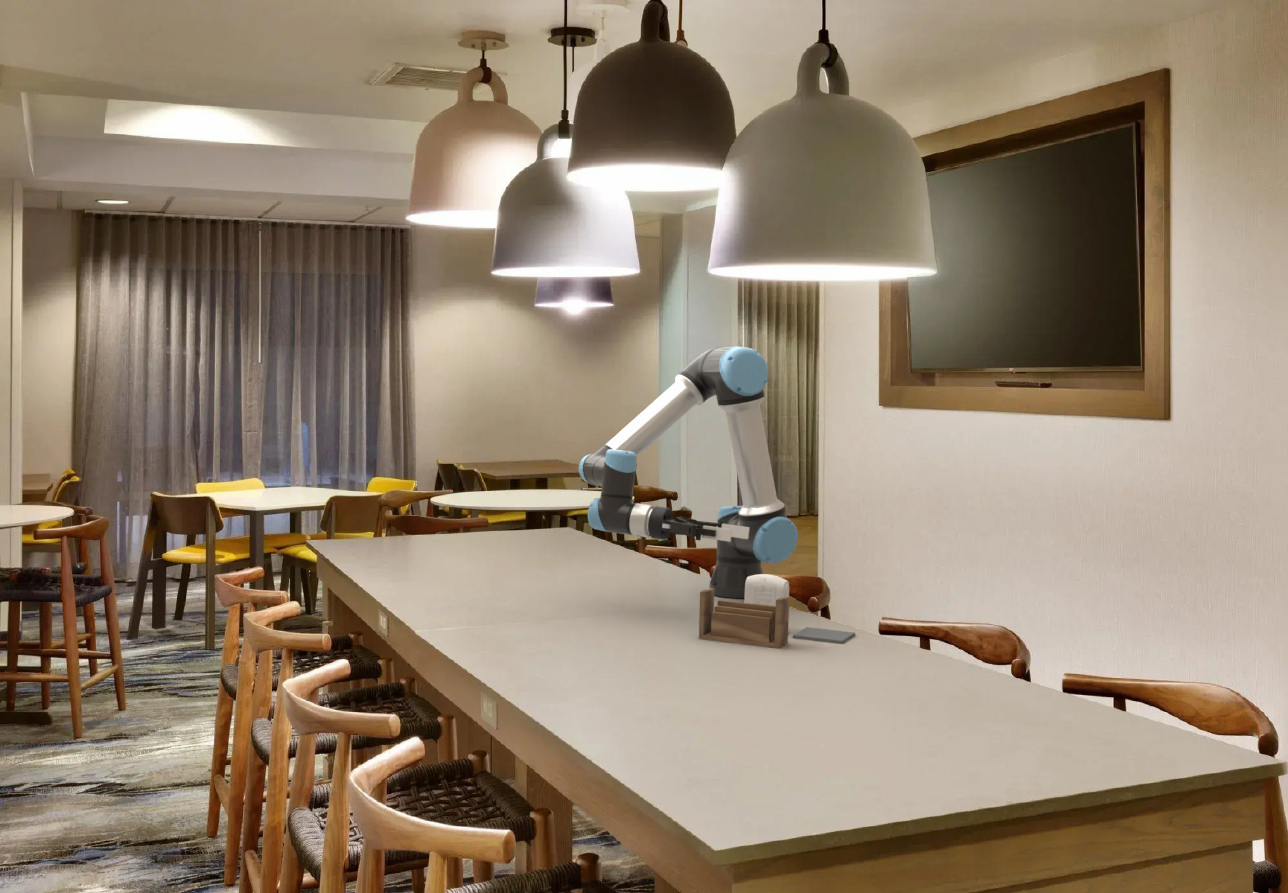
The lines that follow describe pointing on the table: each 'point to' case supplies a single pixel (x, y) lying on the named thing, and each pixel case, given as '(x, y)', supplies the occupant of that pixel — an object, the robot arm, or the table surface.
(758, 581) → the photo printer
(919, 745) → the table surface
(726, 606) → the offcut rack
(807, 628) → the pad
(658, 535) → the robot arm
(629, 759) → the table surface
